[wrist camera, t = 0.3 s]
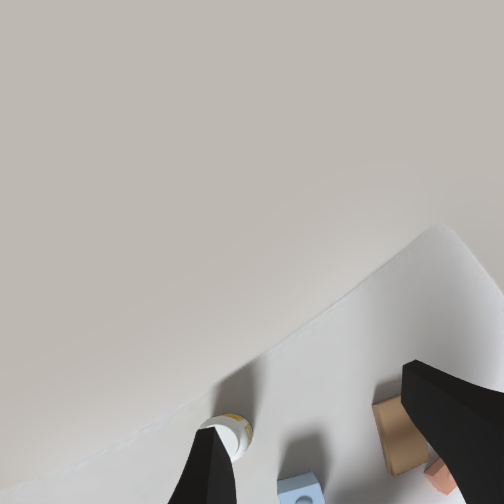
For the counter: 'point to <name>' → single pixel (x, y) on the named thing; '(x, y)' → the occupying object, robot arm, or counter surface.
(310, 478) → the blue brick
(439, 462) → the brick
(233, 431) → the supplement bottle
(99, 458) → the counter surface
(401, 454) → the base brick
